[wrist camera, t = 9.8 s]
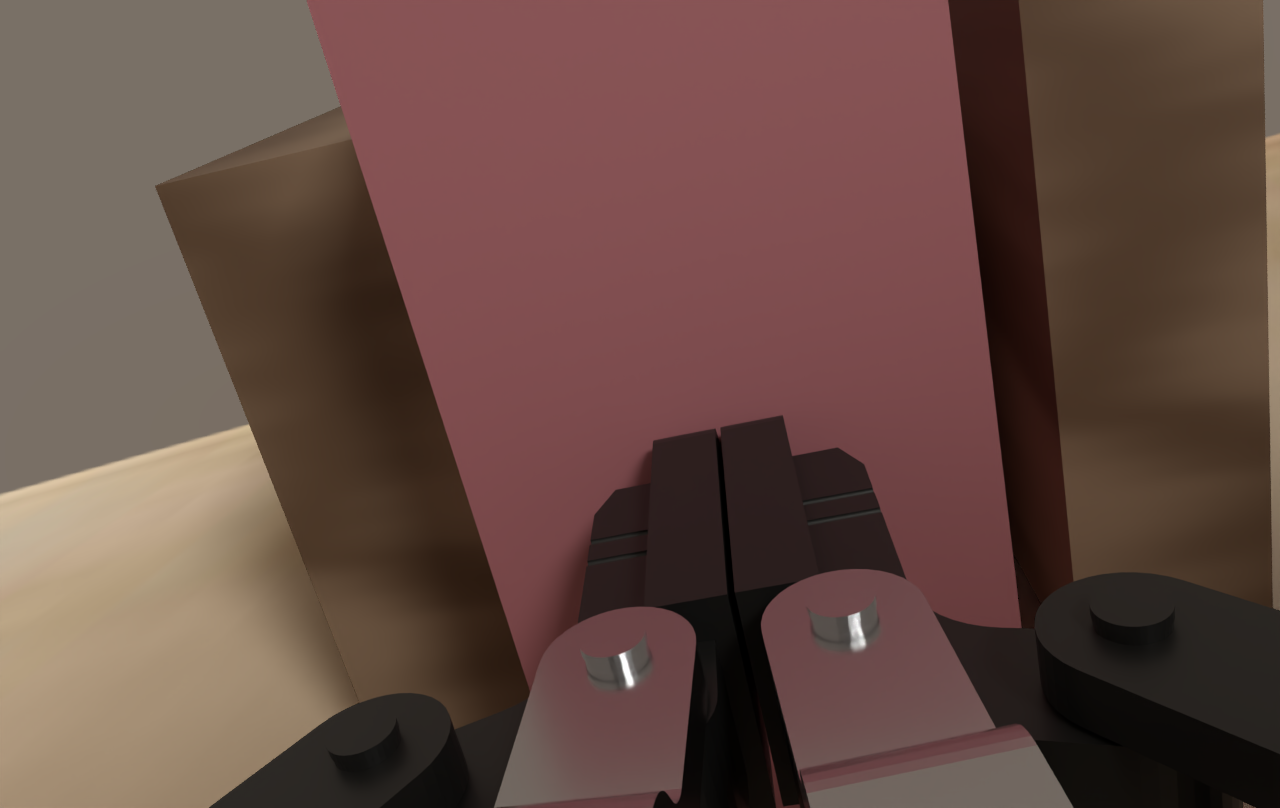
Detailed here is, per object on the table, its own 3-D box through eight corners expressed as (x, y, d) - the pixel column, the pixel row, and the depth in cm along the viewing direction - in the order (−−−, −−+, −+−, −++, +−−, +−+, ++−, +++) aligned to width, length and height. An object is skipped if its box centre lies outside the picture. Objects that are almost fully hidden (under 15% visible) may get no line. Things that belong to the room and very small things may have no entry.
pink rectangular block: (867, 416, 29) (781, -103, 24) (1052, 888, 14) (924, -195, 10) (650, 458, 30) (525, -38, 25) (612, 947, 15) (297, -32, 10)
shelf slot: (1033, 365, 30) (989, -61, 26) (1273, 650, 18) (1262, -77, 14) (507, 467, 32) (390, 84, 28) (393, 789, 19) (155, 185, 15)
